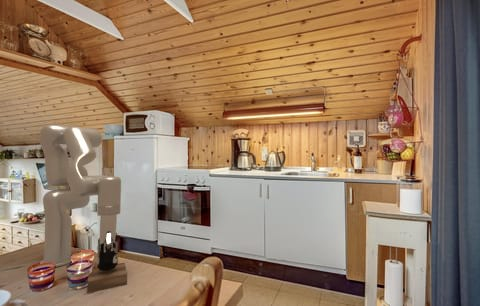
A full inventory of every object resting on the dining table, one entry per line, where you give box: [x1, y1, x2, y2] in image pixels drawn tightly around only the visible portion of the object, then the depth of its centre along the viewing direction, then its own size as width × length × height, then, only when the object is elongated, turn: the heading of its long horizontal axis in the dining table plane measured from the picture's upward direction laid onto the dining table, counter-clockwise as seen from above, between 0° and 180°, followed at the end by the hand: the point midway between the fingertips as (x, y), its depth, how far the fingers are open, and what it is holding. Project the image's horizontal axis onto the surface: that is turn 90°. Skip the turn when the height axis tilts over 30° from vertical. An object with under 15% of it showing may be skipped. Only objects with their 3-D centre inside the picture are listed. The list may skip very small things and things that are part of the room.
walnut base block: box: [86, 262, 128, 294], centre depth 90 cm, size 12×12×4 cm
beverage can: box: [96, 232, 119, 271], centre depth 90 cm, size 7×7×12 cm
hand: (107, 258), depth 90 cm, fingers closed on beverage can, 6 cm apart
